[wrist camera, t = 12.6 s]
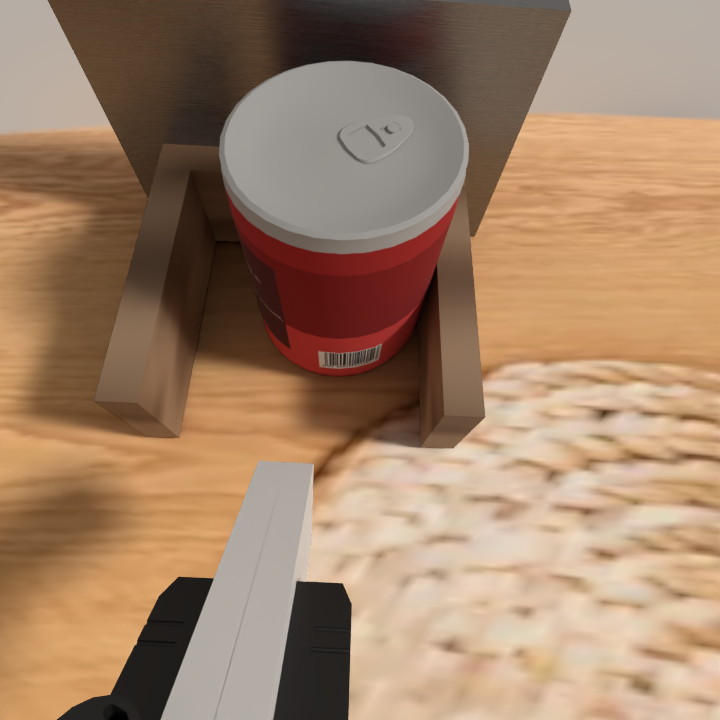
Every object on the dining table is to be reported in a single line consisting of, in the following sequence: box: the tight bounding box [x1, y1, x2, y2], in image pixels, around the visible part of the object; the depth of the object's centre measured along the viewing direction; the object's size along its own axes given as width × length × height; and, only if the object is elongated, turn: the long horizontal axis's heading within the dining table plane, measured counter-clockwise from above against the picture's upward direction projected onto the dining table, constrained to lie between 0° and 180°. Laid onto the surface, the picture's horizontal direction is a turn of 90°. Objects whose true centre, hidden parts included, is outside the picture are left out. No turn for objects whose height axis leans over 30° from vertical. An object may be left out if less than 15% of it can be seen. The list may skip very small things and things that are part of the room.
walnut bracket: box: [94, 143, 485, 448], centre depth 22 cm, size 12×14×5 cm
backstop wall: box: [48, 0, 571, 236], centre depth 22 cm, size 3×18×12 cm, turn 88°
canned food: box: [219, 61, 469, 377], centre depth 20 cm, size 8×8×11 cm
